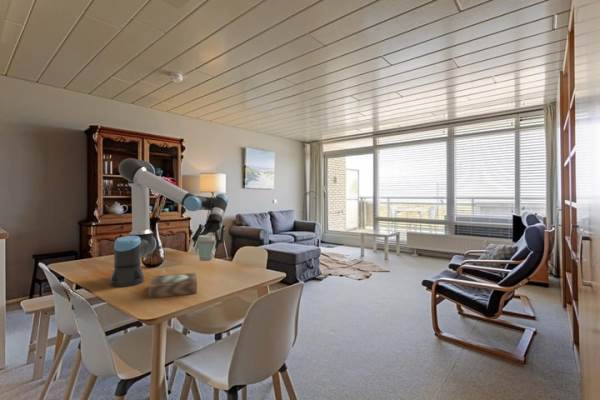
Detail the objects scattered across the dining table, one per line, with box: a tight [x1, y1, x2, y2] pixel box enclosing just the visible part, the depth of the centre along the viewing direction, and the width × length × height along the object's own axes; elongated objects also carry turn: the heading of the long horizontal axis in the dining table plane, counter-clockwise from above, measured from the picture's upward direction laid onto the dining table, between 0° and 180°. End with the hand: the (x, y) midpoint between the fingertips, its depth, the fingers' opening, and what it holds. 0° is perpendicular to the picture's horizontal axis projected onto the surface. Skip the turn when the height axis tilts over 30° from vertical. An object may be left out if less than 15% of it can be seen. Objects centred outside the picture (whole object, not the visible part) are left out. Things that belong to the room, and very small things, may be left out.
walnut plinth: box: [148, 272, 198, 299], centre depth 143 cm, size 20×18×5 cm
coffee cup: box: [198, 234, 216, 262], centre depth 147 cm, size 9×9×12 cm
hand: (203, 253), depth 144 cm, fingers closed on coffee cup, 8 cm apart
